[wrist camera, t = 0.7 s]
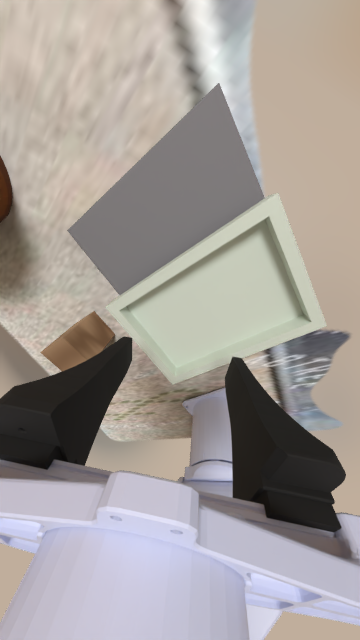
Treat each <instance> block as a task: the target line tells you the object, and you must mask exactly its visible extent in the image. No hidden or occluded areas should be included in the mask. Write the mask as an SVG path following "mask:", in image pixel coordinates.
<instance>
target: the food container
mask: <svg viewBox="0 0 360 640" xmlns="http://www.w3.org/2000/svg"><path fill="white" fill-rule="evenodd" d="M11 205H12V187H11V182H10V178H9V175H8V172H7V169H6V167H5V165H4V162H3V160H2V158H1V156H0V223H1V222H2V221H3V220H4V219H5V218H6V217H7V215H8V214H9V211H10V208H11Z"/></svg>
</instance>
